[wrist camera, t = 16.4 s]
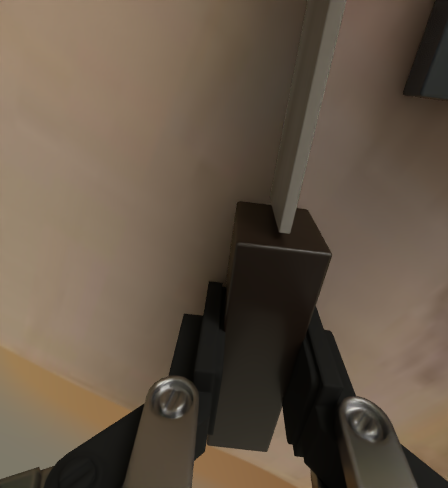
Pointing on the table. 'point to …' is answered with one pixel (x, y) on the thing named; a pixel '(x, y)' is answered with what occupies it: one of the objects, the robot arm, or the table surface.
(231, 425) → the table knife
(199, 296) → the table surface
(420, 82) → the board
